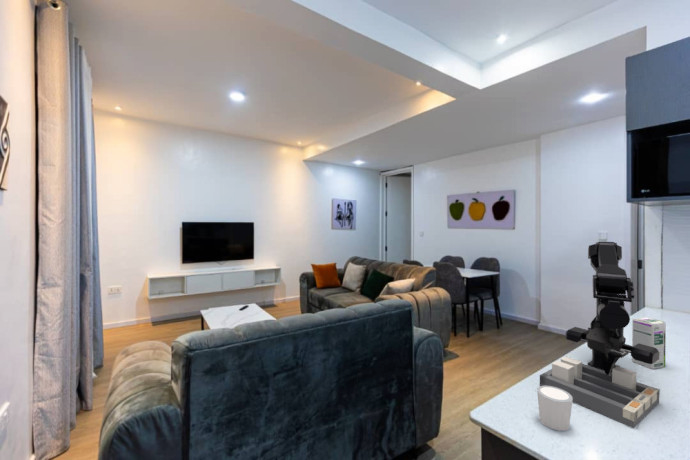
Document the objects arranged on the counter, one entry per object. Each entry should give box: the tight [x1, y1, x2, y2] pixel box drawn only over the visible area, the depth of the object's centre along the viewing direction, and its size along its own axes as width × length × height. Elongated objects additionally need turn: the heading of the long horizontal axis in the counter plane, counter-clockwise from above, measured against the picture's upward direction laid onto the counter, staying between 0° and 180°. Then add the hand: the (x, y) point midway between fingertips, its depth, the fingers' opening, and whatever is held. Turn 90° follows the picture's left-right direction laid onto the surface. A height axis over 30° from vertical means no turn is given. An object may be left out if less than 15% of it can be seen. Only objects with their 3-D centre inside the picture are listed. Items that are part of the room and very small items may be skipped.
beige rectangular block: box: [560, 356, 583, 379], centre depth 88 cm, size 3×4×5 cm
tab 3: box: [612, 365, 637, 391], centre depth 82 cm, size 3×4×5 cm
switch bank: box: [539, 363, 661, 429], centre depth 83 cm, size 18×20×4 cm
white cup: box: [536, 385, 573, 432], centre depth 71 cm, size 7×7×7 cm
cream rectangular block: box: [551, 360, 574, 385], centre depth 85 cm, size 3×4×5 cm
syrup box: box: [631, 316, 667, 370], centre depth 100 cm, size 6×6×14 cm
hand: (607, 374), depth 85 cm, fingers closed
